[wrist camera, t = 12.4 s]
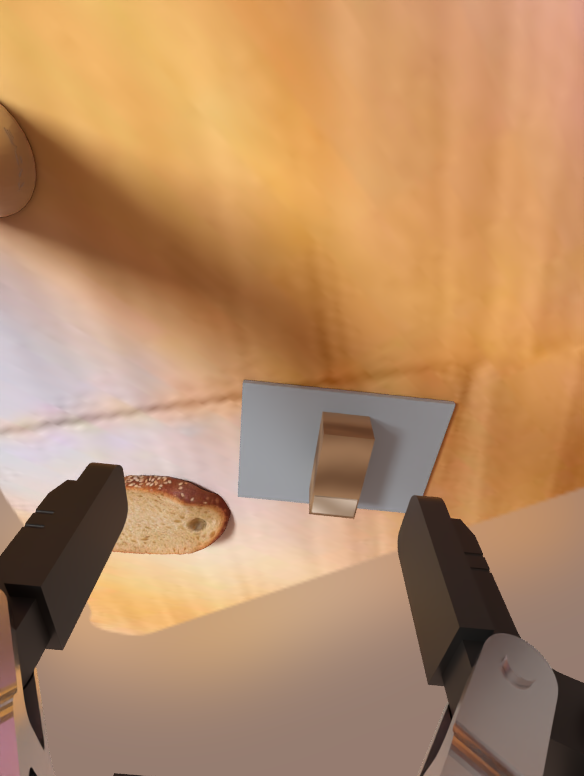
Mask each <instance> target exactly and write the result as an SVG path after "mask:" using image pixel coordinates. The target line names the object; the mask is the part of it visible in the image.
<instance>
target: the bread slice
mask: <svg viewBox="0 0 584 776" xmlns="http://www.w3.org/2000/svg"><path fill="white" fill-rule="evenodd" d="M124 480H125V487H126V494H127V501H128V514H127V519H126V522H125V525H124V528H123V530H122V532H121V534H120V536H119V538H118V540H117V542H116V544H115V546H114V548H113V550H112V551H113V552H124V553H139V554H140V553H141V554H144V553H148V554H180V555H181V554H186V553H188V554H189V553H194V552H196V551H199V550H202V549H204V548H206V547H207V546H209V545H211V544H212V543H213V542H215V541H216V540H217V539H218V538H219V537H220V536H221V535H222V534H223V532H224V531H225V529H226V526H227V524H228V521H229V518H230V510H229V508H228V507H227V505H226V503H225V502H224V500H223V499H222V498H221V497H220V496H219V495H218V494H215V493H210V492H208V491H205V490H203V489H200V488H198V487H197V486H195V485H194V484H192V483H189V482H187V481H184V480H181V479H177V478H173V477H168V476H156V475H151V476H146V475H139V476H135V475H130V476H126V477H124Z"/></svg>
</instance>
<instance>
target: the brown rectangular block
mask: <svg viewBox="0 0 584 776" xmlns="http://www.w3.org/2000/svg"><path fill="white" fill-rule="evenodd" d="M374 441H375V438H374V433H373V429H372V425H371V421H370V417H369V416H360V415H351V414H342V413H332V412H322V418H321V423H320V429H319V435H318V441H317V446H316V452H315V458H314V464H313V469H312V475H311V481H310V487H309V514H314V515H324V516H334V517H343V518H353V519H354V517H355V513H356V510H357V506H358V502H359V498H360V494H361V491H362V487H363V483H364V479H365V475H366V472H367V468H368V464H369V460H370V456H371V453H372V449H373V445H374Z"/></svg>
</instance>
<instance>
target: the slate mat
mask: <svg viewBox="0 0 584 776" xmlns="http://www.w3.org/2000/svg"><path fill="white" fill-rule="evenodd" d="M454 408H455V403H454V402H453V401H444V400H434V399H424V398H415V397H405V396H396V395H386V394H376V393H367V392H357V391H347V390H338V389H328V388H319V387H309V386H299V385H290V384H280V383H270V382H261V381H251V380H244V381H243V392H242V414H241V436H240V459H239V481H238V497H247V498H258V499H268V500H278V501H288V502H298V503H309V487H310V481H311V475H312V469H313V464H314V458H315V452H316V446H317V441H318V435H319V429H320V423H321V418H322V412H332V413H342V414H351V415H360V416H369V417H370V421H371V425H372V429H373V433H374V438H375V441H374V445H373V449H372V453H371V456H370V460H369V464H368V468H367V472H366V475H365V479H364V483H363V487H362V491H361V494H360V498H359V502H358V506H357V508H360V509H370V510H380V511H390V512H401V513H406V510H407V507H408V504H409V501H410V499H411V497H412V496H413V495H418V496H423V494H424V491H425V488H426V485H427V483H428V480H429V477H430V474H431V472H432V469H433V466H434V463H435V460H436V458H437V455H438V452H439V449H440V446H441V444H442V441H443V438H444V435H445V433H446V430H447V427H448V424H449V421H450V419H451V416H452V413H453V410H454Z"/></svg>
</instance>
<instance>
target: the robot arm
mask: <svg viewBox="0 0 584 776" xmlns="http://www.w3.org/2000/svg"><path fill="white" fill-rule="evenodd" d="M35 180H36V170H35V161H34V157H33V154H32V150H31V147H30V145H29V143H28V140H27V138H26V136H25V134H24V132H23V131H22V129H21V128H20V126H19V124H18V123H17V121H16V120H15V119H14V118H13V116H12V115H11V114H10V113H9V112H8V111H7V110H6V109H5V107H4V106H2V105H1V104H0V217H6V216H9V215H12V214H14V213H17V212H18V211H20V210H21V209H22V208H23V207H25V206H26V204H27V203H28V201H29V200H30V198H31V196H32V193H33V191H34V188H35ZM127 514H128V501H127V494H126V487H125V480H124V473H123V468H122V466H120V465H113V464H103V463H90V464H89V465H88V466H87V467H86V469H85V470H84V471H83V473H82V474H81V476H80V477H79V478H78V480H77V481H74V480H66V481H65V482H64V483H62V484H61V485H59V486H58V487H57V488H55V489H54V490H52V491H51V492H50V493H48V495H47V496H46V497H45V499H44V500H43V501H42V502H41V504H40V505H39V506H38V508H37V509H36V512H35V513H33V514H32V515H31V517H30V518H29V519H28V521H27V522H26V523H25V527H22V528H21V530H20V531H19V532H18V534H17V535H16V536H15V537H14V539H13V540H12V541H11V543H10V544H9V545H8V547H7V548H6V549H5V550H4V552H3V553H2V554H1V556H0V776H55V772H54V769H53V765H52V761H51V757H50V752H49V746H48V739H47V733H46V727H45V720H44V714H43V707H42V700H41V695H40V688H39V681H38V675H37V669H36V665H37V663H38V661H39V660H40V657H41V656H42V654H43V652H44V650H45V649H55V650H63V649H64V647H65V645H66V643H67V640H68V639H69V637H70V635H71V633H72V631H73V629H74V627H75V624H76V623H77V620H78V619H79V616H80V614H81V612H82V610H83V608H84V606H85V604H86V602H87V600H88V598H89V596H90V594H91V592H92V590H93V588H94V586H95V584H96V582H97V580H98V578H99V576H100V574H101V572H102V570H103V568H104V566H105V564H106V562H107V560H108V558H109V556H110V554H111V552H112V550H113V548H114V546H115V544H116V542H117V540H118V538H119V536H120V534H121V532H122V530H123V528H124V525H125V522H126V519H127ZM398 555H399V559H400V564H401V568H402V572H403V577H404V581H405V585H406V590H407V594H408V599H409V603H410V607H411V612H412V616H413V620H414V625H415V629H416V634H417V638H418V642H419V647H420V651H421V655H422V660H423V664H424V668H425V673H426V677H427V681H428V684H429V685H438V686H444V687H445V690H446V694H447V698H448V703H447V704H446V706H445V709H444V711H443V713H442V716H441V718H440V721H439V723H438V726H437V728H436V731H435V733H434V736H433V738H432V741H431V743H430V746H429V748H428V751H427V753H426V755H425V758H424V760H423V763H422V765H421V768H420V770H419V773H418V775H417V776H584V683H582V682H580V681H578V680H575V679H573V678H570V677H568V676H566V675H563V674H561V673H559V672H557V671H555V670H554V669H552V668H551V667H550V665H549V664H548V662H547V661H546V659H545V658H544V657H543V656H542V655H541V654H540V652H539V651H538V650H536V649H535V648H534V647H533V646H532V645H530V644H529V643H528V642H526V641H525V640H523V639H521V637H520V636H519V634H518V632H517V630H516V627H515V625H514V623H513V621H512V618H511V616H510V614H509V612H508V609H507V607H506V605H505V602H504V600H503V598H502V596H501V594H500V591H499V590H498V587H497V585H496V582H495V580H494V578H493V575H492V573H490V571H489V566H488V564H487V562H486V560H485V558H484V557H483V553H482V551H481V548H480V546H479V544H478V542H477V540H476V537H475V535H474V534H473V533H472V532H471V531H470V530H469V528H468V527H467V526H466V525H465V524H464V523H463V522H462V521H461V519H452V518H450V515H449V513H448V510H447V508H446V505H445V503H444V501H443V499H441V498H438V497H428V496H418V495H413V496H412V497H411V499H410V501H409V504H408V507H407V510H406V513H405V516H404V519H403V522H402V525H401V528H400V531H399V535H398ZM114 776H140V775H127V774H115V773H114Z"/></svg>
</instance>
